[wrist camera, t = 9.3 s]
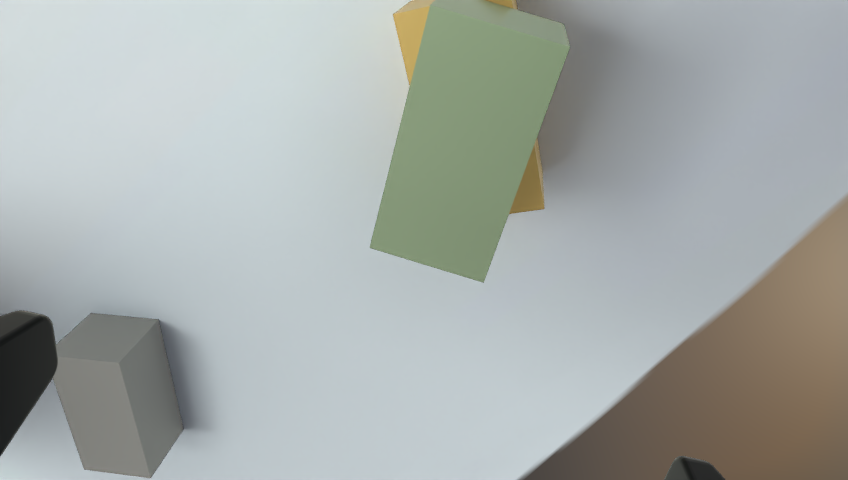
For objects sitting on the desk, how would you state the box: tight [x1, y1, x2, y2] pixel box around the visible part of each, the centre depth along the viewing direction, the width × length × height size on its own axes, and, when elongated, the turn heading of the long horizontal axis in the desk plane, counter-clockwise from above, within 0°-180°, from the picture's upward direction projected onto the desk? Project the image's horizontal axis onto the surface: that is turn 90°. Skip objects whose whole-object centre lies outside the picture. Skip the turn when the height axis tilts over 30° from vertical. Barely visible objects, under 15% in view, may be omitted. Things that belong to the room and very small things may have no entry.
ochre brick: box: [393, 0, 544, 214], centre depth 18 cm, size 6×3×3 cm, turn 13°
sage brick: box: [370, 0, 570, 283], centre depth 16 cm, size 6×3×3 cm, turn 165°
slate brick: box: [53, 313, 184, 478], centre depth 26 cm, size 6×3×3 cm, turn 0°
